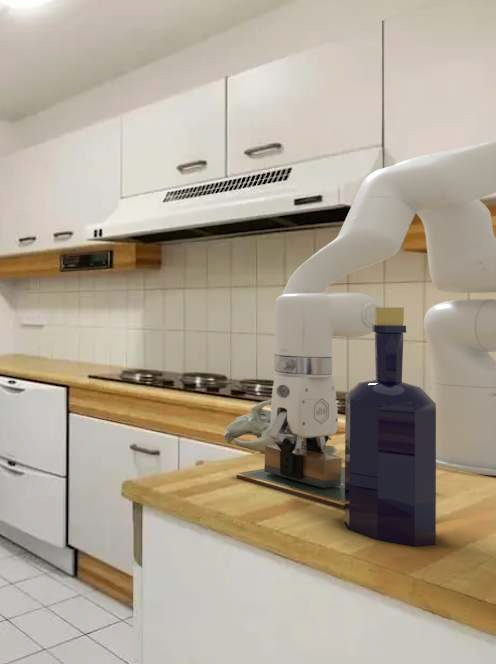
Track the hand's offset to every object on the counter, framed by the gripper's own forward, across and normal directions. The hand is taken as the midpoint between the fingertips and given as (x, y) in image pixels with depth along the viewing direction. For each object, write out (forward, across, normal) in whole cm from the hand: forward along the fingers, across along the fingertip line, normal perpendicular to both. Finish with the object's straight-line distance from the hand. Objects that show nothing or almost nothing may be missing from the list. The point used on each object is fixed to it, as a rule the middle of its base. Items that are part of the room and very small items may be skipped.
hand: (301, 474), depth 92 cm
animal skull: (+2, +18, +16) cm, 24 cm away
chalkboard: (+2, +5, -1) cm, 5 cm away
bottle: (+2, -10, -16) cm, 19 cm away
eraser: (+1, 0, 0) cm, 1 cm away
